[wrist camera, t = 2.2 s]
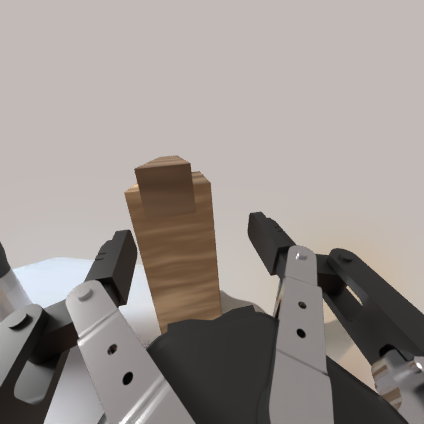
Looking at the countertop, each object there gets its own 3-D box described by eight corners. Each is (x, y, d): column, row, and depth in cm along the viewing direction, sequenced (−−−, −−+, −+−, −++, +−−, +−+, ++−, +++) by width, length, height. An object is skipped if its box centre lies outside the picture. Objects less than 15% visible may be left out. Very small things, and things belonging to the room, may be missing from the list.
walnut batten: (196, 212, 13) (190, 163, 11) (146, 220, 12) (134, 168, 11) (179, 172, 36) (177, 155, 35) (162, 174, 36) (159, 157, 35)
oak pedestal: (223, 343, 34) (209, 173, 23) (167, 356, 33) (121, 183, 21) (211, 290, 47) (198, 165, 36) (171, 298, 46) (143, 170, 34)
